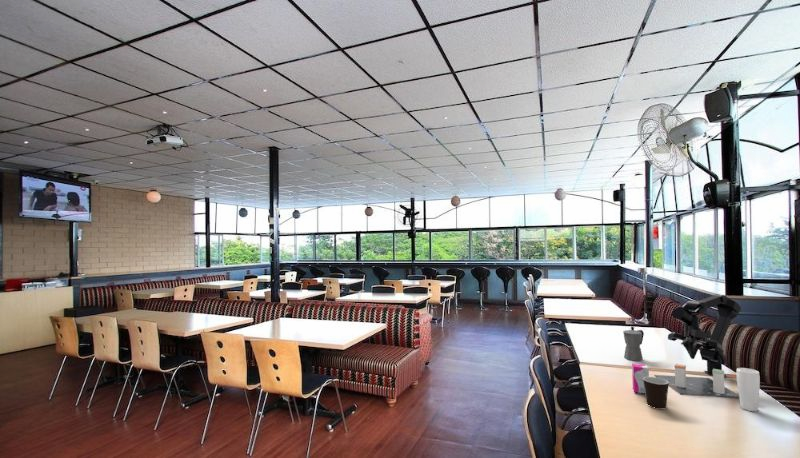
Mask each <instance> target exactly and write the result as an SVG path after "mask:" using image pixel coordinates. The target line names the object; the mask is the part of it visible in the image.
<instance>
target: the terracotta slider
mask: <svg viewBox="0 0 800 458" xmlns="http://www.w3.org/2000/svg"><path fill="white" fill-rule="evenodd" d="M686 368H687V366H686V365H685V364H679V363H675V364H674V376H675V386H677V387H682V388H685V387H686V377H687V372H686V370H687V369H686Z"/></svg>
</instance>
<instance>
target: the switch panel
mask: <svg viewBox="0 0 800 458" xmlns="http://www.w3.org/2000/svg"><path fill="white" fill-rule="evenodd" d="M653 377H656V378H661V379H664V380H666V381H668V382H669V385H668V388H669V387H670V388H671V389H672V390H673V391H675V392H677V394H680V395H685V396H687V395H688V396H701V397H703V396H704V397H715V398H716V397H719V398H731V399H733V398H734V399H740V398H739V393H737V392H735V391H733V390H731V389H729V388H727V387H726V386H725V393H724V394H720V393H715V392H713V379H712V378H710V377H703V376H702V377H701V376H699V377H698V376H686V387H685V388H682V387H677V386H675V375H665V374H663V375H662V374H654V376H653Z"/></svg>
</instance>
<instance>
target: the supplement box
mask: <svg viewBox="0 0 800 458" xmlns="http://www.w3.org/2000/svg"><path fill="white" fill-rule="evenodd" d="M649 370H650V368H649V367H648V366H647V364H640V363H631V372H632V373H631V377H632V378H631V380H632V390H634V391H633V392H635V393H634V394H637V393H641V394H640V395H645V388H644V382H643V378H644V377H650V374H649V373H650V371H649Z"/></svg>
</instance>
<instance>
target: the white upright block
mask: <svg viewBox="0 0 800 458" xmlns="http://www.w3.org/2000/svg"><path fill="white" fill-rule="evenodd" d="M712 373H713V376H712V380H713V392H715V393H720V394H724V393H725V387H726V386H725V385H726V384H725V376H724V375H725V370H723V369H722V370H718V369H713V370H712Z"/></svg>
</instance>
